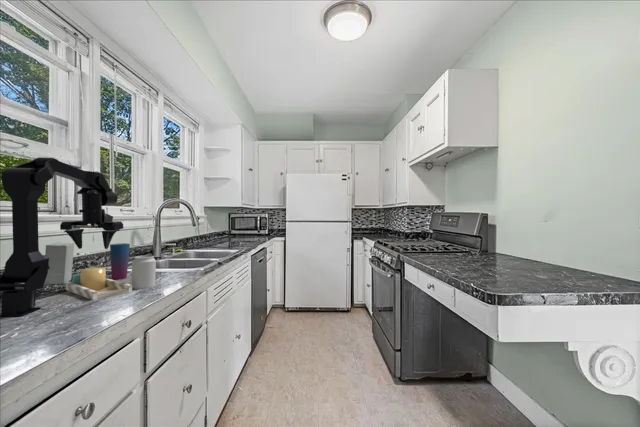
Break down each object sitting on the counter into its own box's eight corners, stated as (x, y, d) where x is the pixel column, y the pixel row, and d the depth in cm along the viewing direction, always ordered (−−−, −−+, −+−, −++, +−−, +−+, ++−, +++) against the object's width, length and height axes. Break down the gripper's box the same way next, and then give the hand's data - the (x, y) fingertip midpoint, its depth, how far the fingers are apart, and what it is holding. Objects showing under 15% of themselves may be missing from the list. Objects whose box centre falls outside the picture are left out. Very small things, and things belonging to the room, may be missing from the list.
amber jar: (97, 291, 98) (98, 271, 98) (74, 292, 97) (75, 271, 97) (109, 286, 105) (110, 267, 105) (88, 286, 104) (88, 267, 104)
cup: (104, 281, 116) (105, 244, 116) (120, 278, 123) (121, 243, 123) (117, 282, 114) (118, 245, 114) (133, 279, 121) (133, 243, 121)
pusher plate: (101, 284, 106) (102, 271, 106) (73, 289, 99) (73, 275, 99) (100, 284, 107) (101, 271, 107) (72, 288, 100) (72, 275, 100)
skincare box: (51, 282, 113) (52, 242, 113) (74, 281, 116) (75, 241, 116) (41, 287, 105) (42, 244, 105) (66, 285, 108) (67, 243, 108)
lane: (131, 294, 97) (132, 285, 97) (93, 302, 88) (93, 292, 88) (102, 285, 109) (103, 277, 109) (65, 292, 99) (66, 282, 99)
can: (159, 286, 109) (160, 255, 109) (145, 291, 102) (146, 257, 102) (141, 285, 110) (142, 254, 110) (126, 290, 102) (127, 257, 102)
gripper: (131, 206, 113) (132, 245, 114) (82, 205, 112) (83, 244, 113) (113, 207, 102) (114, 250, 103) (58, 206, 101) (59, 250, 102)
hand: (93, 248), depth 106 cm, fingers open, 9 cm apart
